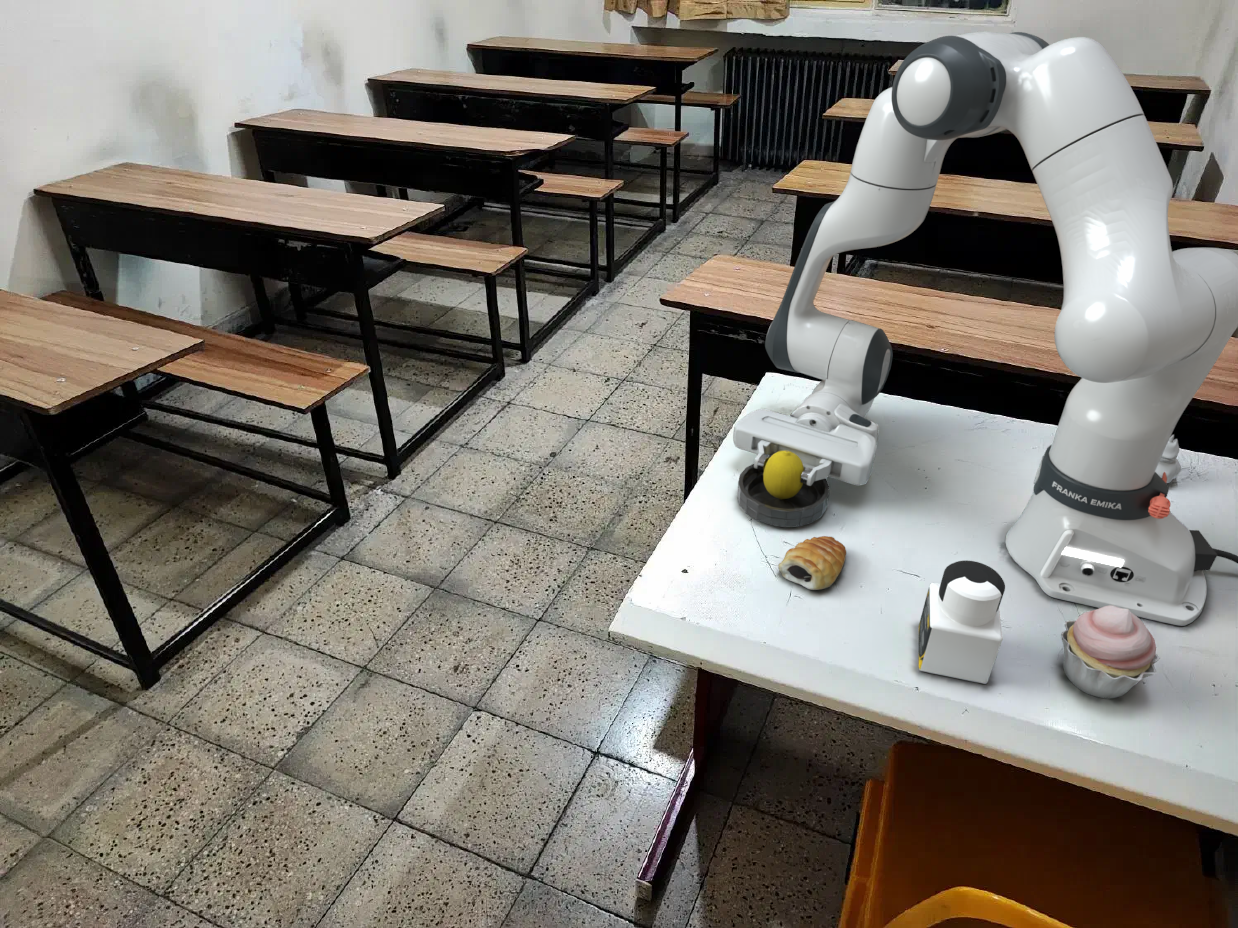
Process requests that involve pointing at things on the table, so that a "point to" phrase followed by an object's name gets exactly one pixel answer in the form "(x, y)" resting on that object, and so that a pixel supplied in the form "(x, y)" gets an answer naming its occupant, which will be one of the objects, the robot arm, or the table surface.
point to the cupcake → (1108, 651)
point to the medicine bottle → (962, 623)
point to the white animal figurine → (1169, 461)
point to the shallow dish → (781, 501)
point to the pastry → (814, 562)
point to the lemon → (783, 474)
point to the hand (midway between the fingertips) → (782, 472)
